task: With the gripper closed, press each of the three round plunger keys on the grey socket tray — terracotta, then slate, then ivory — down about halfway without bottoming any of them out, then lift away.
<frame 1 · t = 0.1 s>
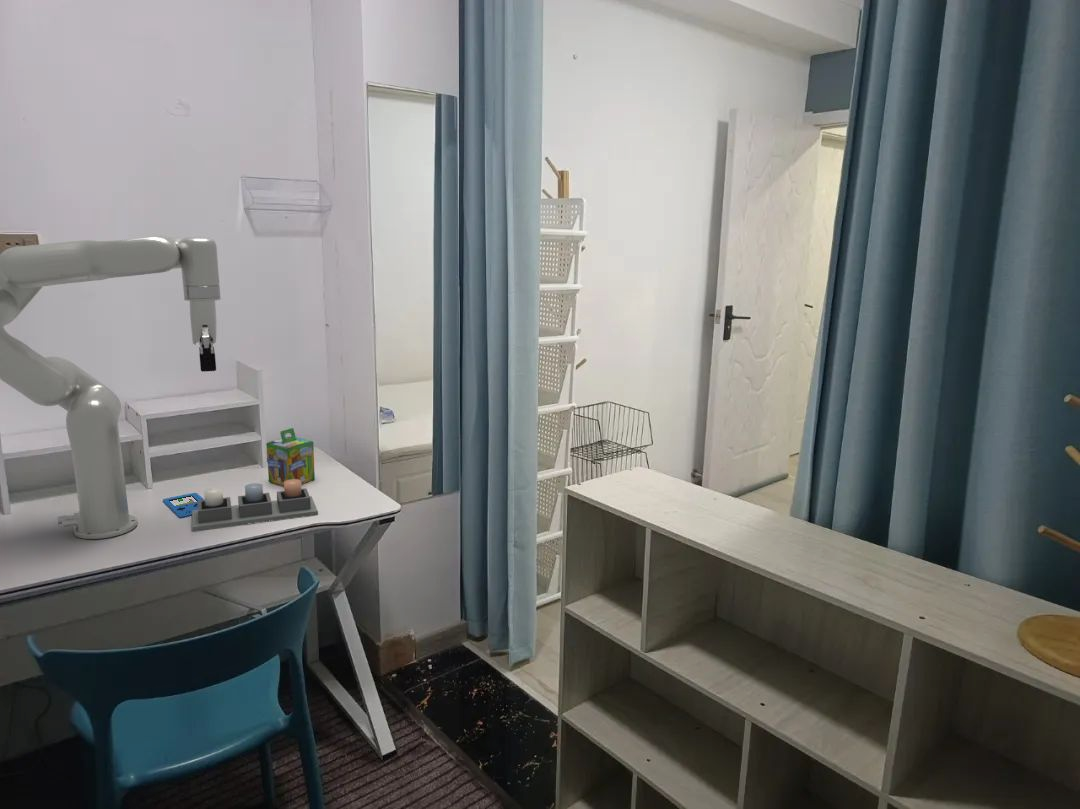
hand: (208, 367, 168), 37 cm above the table, tool pointing down, fingers open, 9 cm apart
slate key: (254, 492, 176), point 6 cm above the table, slide at 0.0 cm
chalk box: (292, 481, 201), on the table
grey socket tray: (255, 514, 177), on the table
ivory key: (213, 496, 172), point 6 cm above the table, slide at 0.0 cm
terracotta key: (292, 487, 179), point 6 cm above the table, slide at 0.0 cm
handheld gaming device: (188, 507, 181), on the table
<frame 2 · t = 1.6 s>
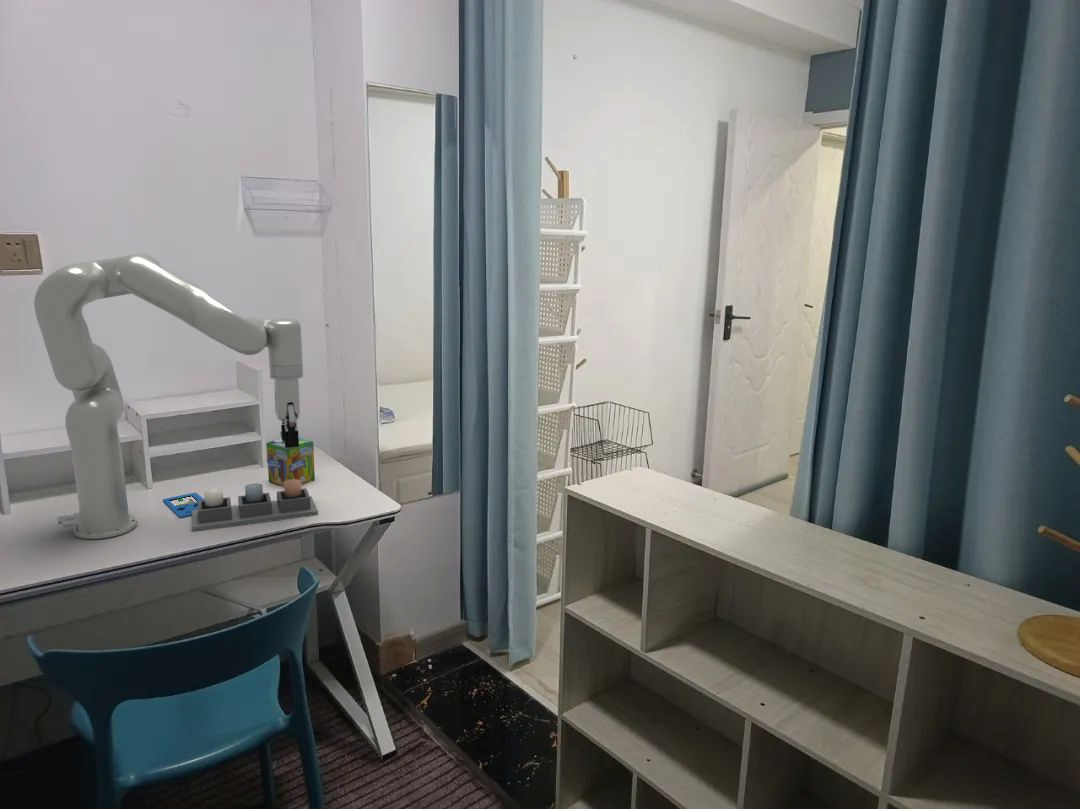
hand: (290, 442, 177), 18 cm above the table, tool pointing down, fingers open, 5 cm apart
nothing on the table moved.
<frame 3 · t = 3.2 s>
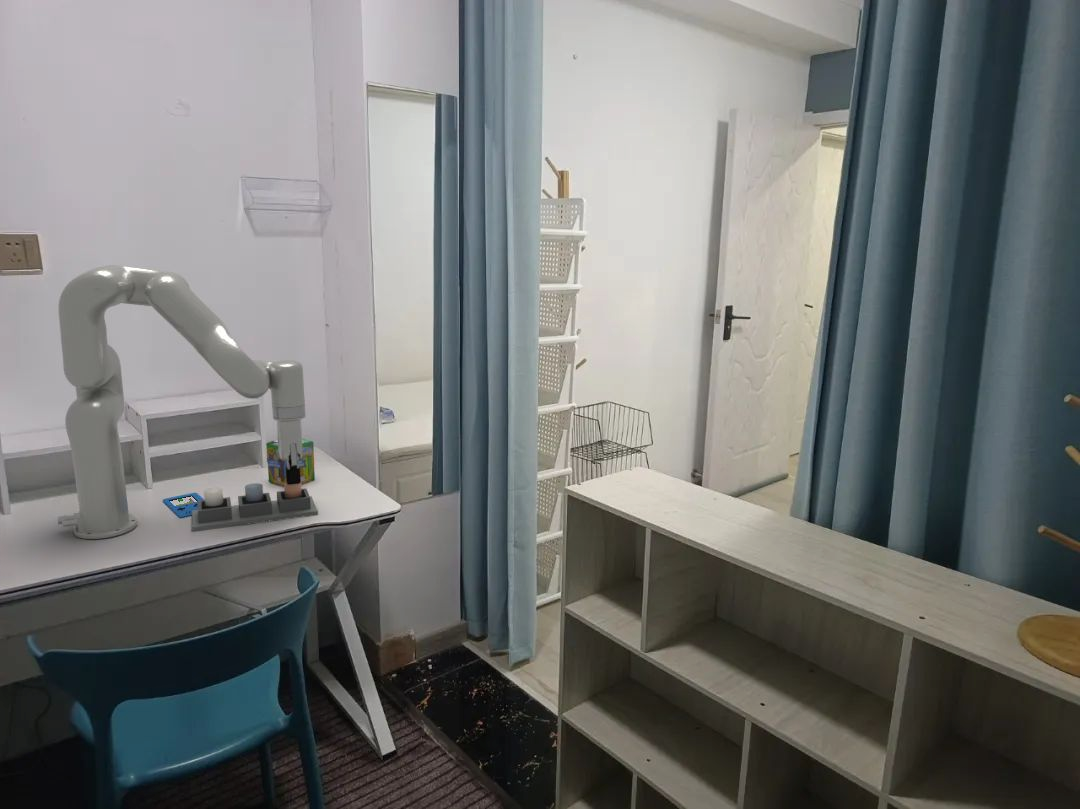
hand: (293, 482, 179), 7 cm above the table, tool pointing down, fingers closed
terracotta key: (292, 489, 179), point 5 cm above the table, slide at 0.4 cm, touching gripper
everything else where it was.
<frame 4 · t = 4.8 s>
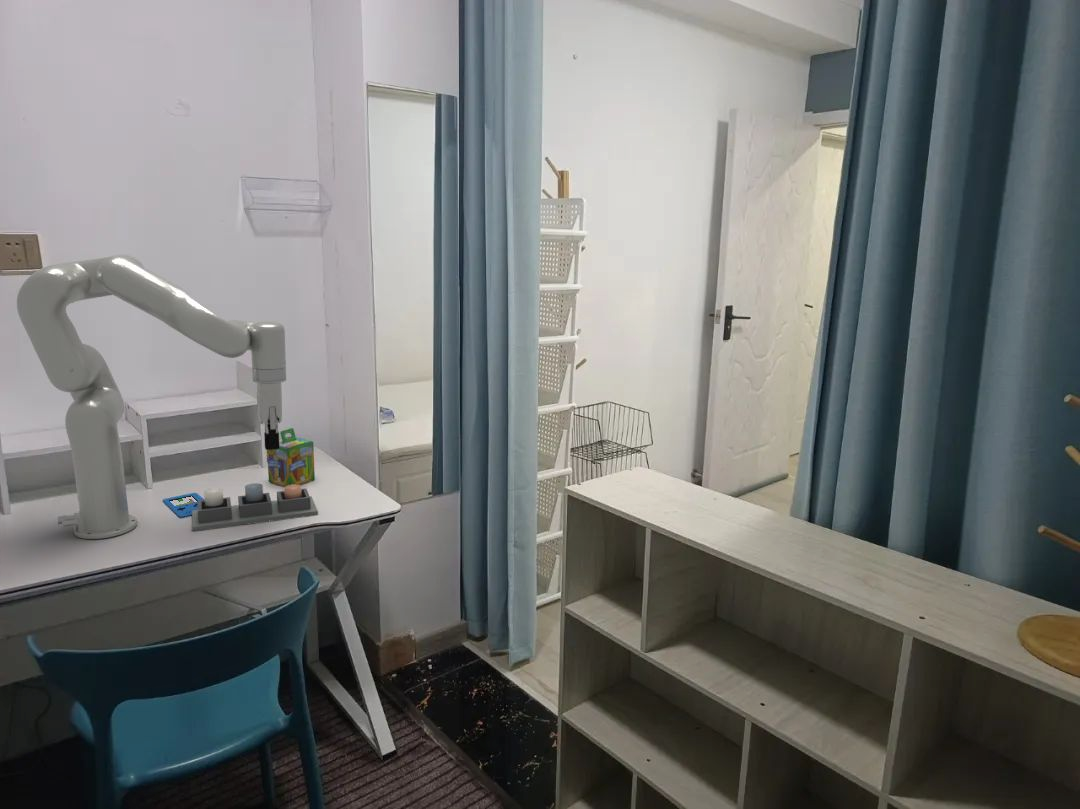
hand: (272, 448, 175), 16 cm above the table, tool pointing down, fingers closed
terracotta key: (293, 493, 180), point 4 cm above the table, slide at 1.4 cm
everything else where it was.
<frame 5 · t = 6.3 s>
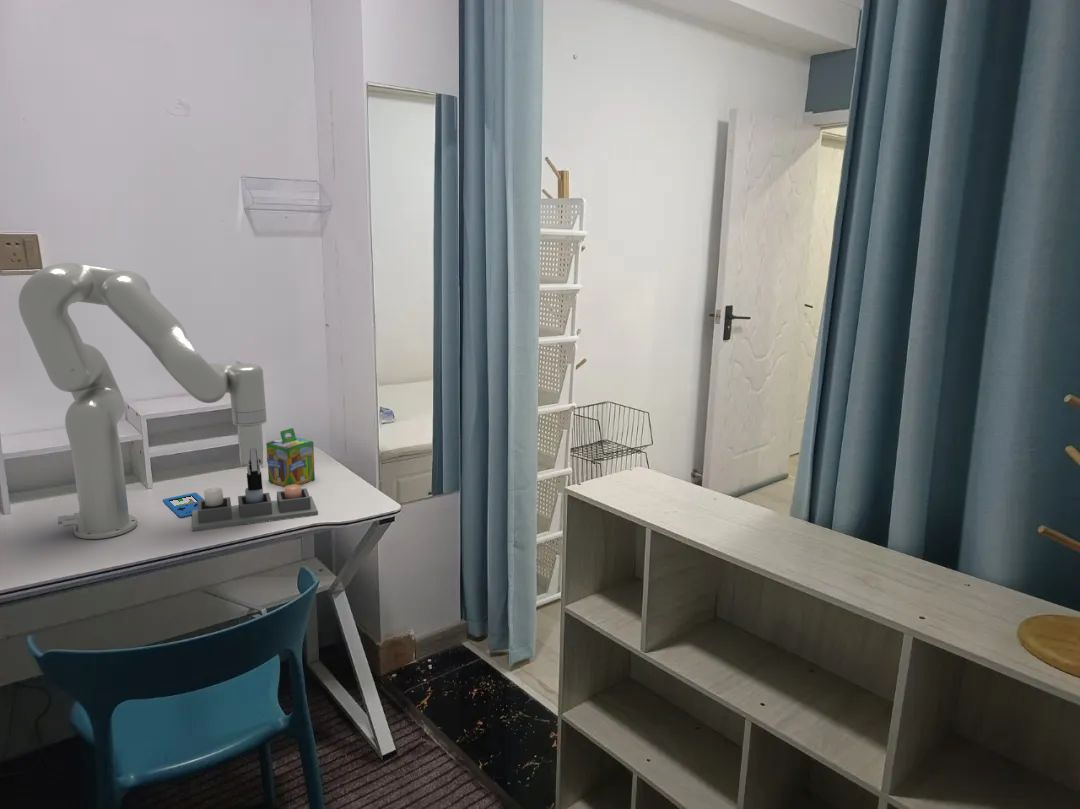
hand: (255, 488, 176), 7 cm above the table, tool pointing down, fingers closed
slate key: (254, 495, 176), point 5 cm above the table, slide at 0.8 cm, touching gripper
everything else where it was.
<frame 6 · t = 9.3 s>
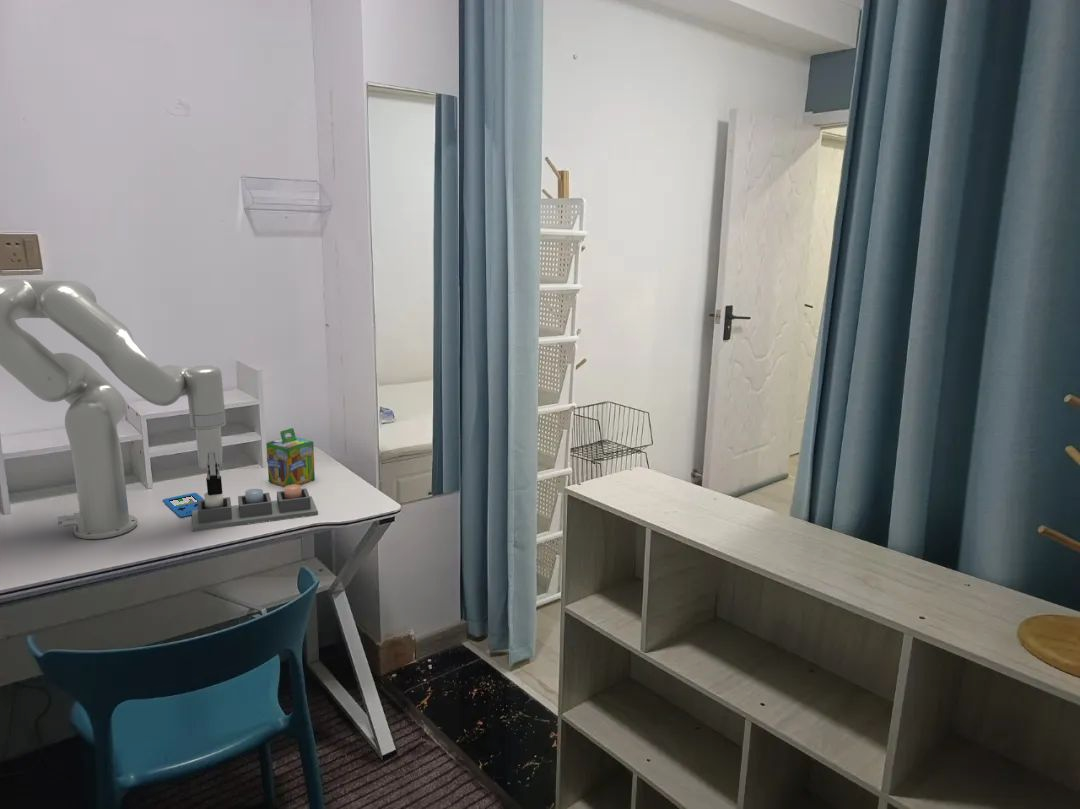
hand: (215, 493, 172), 7 cm above the table, tool pointing down, fingers closed
slate key: (254, 497, 176), point 4 cm above the table, slide at 1.4 cm
ivory key: (214, 500, 172), point 5 cm above the table, slide at 0.8 cm, touching gripper
everything else where it was.
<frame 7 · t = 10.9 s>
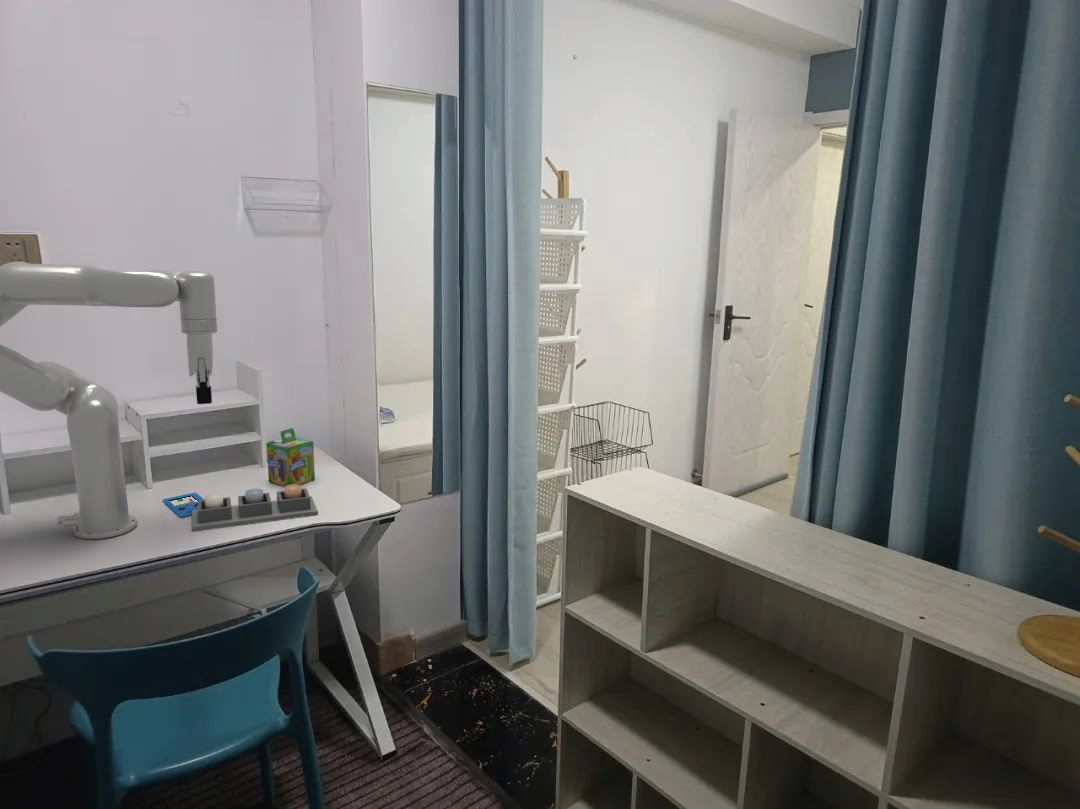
hand: (204, 402, 171), 28 cm above the table, tool pointing down, fingers closed
ivory key: (214, 502, 172), point 4 cm above the table, slide at 1.4 cm
everything else where it was.
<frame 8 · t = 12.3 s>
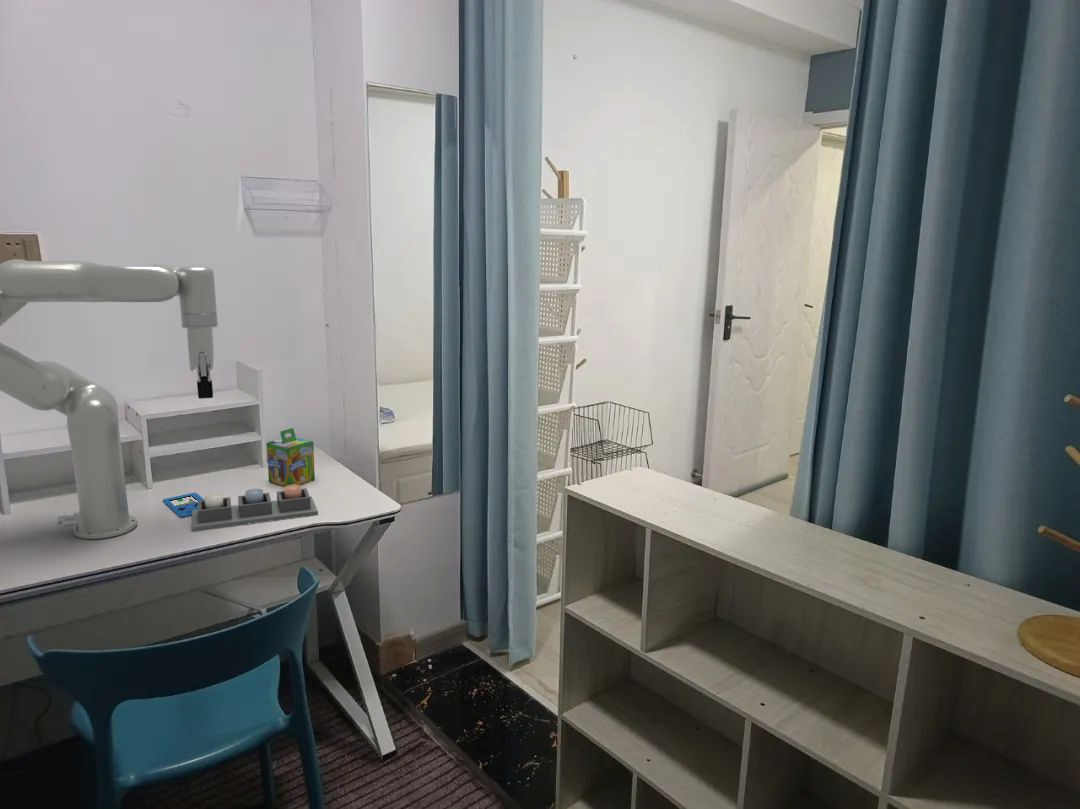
hand: (205, 397, 171), 29 cm above the table, tool pointing down, fingers closed
nothing on the table moved.
at the end: terracotta key slide at 1.4 cm; slate key slide at 1.4 cm; ivory key slide at 1.4 cm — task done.
